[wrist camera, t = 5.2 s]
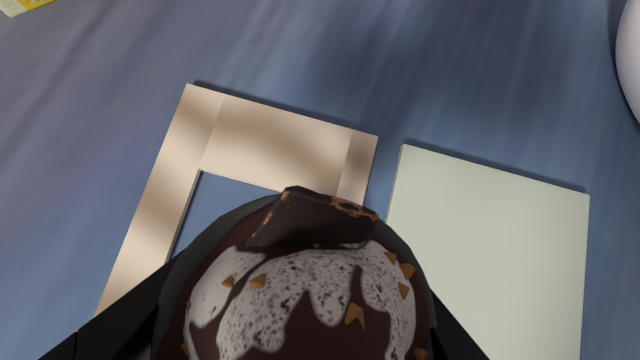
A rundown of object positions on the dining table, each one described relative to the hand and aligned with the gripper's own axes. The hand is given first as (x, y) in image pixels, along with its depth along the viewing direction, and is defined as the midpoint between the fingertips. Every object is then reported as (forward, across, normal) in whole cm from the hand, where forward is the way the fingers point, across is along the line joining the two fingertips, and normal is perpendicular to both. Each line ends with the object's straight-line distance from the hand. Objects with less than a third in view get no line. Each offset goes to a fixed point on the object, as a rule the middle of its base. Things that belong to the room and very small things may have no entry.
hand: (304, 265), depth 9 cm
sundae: (+4, 0, +6) cm, 8 cm away
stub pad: (+7, -13, +10) cm, 17 cm away
